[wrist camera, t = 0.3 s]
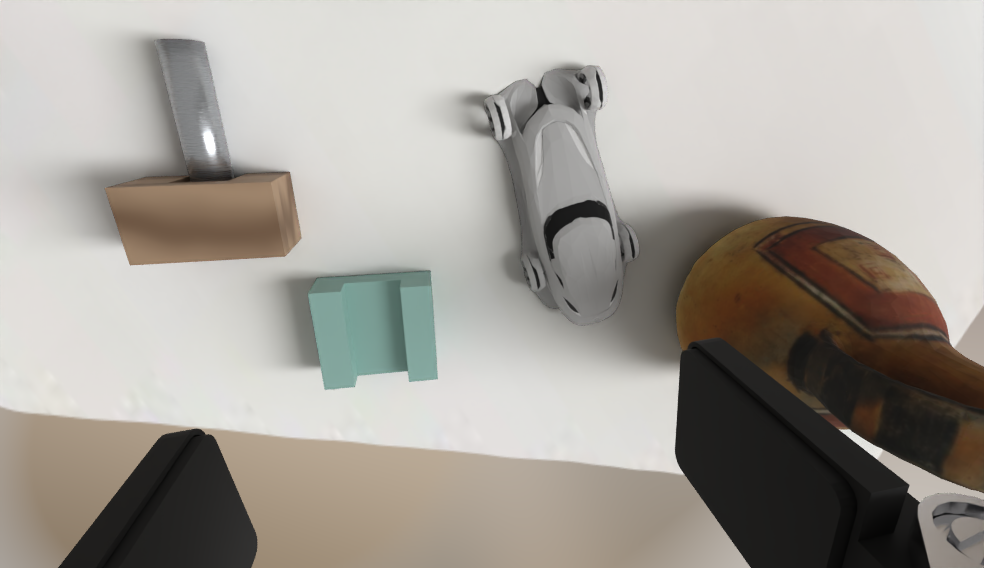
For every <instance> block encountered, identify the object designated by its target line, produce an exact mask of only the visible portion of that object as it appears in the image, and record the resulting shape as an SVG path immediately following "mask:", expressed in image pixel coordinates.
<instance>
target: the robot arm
mask: <svg viewBox="0 0 984 568" xmlns="http://www.w3.org/2000/svg"><path fill="white" fill-rule="evenodd" d="M675 455H676V459H677V462H678V464H679V467H680V468H681V470H682V471H683V473H684V474H685V476H686V477H687V478H688V480H689V481H690V483H691V484H692V486H693V487H694V488H695V490H696V491H697V493H698V494H699V495H700V497H701V498H702V499H703V501H704V502H705V504H706V505H707V507H708V508H709V509H710V511H711V512H712V514H713V515H714V516H715V518H716V519H717V521H718V522H719V523H720V525H721V526H722V528H723V529H724V531H725V532H726V533H727V535H728V536H729V537H730V539H731V540H732V542H733V543H734V545H735V546H736V547H737V549H738V550H739V552H740V553H741V554H742V556H743V557H744V559H745V560H746V562H747V563H748V564H749V566H750V567H751V568H984V500H983V499H980V498H976V497H972V496H967V495H961V494H956V493H938V494H934V495H931V496H928V497H925V498H924V499H923V500H922V501H921V503H920V502H919V501H917V500H916V499H915V498H913V497H912V496H911V495H910V494H909V493H907V491H908V488H909V484H907V483H906V482H905V481H904V480H902V479H901V478H900V477H899V476H897V475H896V474H895V473H893V472H892V471H891V470H889V469H888V468H887V467H886V466H884V465H883V464H882V463H881V462H879V461H878V460H877V459H876V458H874V457H873V456H872V455H870V454H869V453H868V452H867V451H865V450H864V449H863V448H862V447H860V446H859V445H858V444H856V443H855V442H854V441H853V440H851V439H850V438H849V437H847V436H846V435H845V434H844V433H842V432H841V431H840V430H838V429H837V428H836V427H835V426H833V425H832V424H831V423H830V422H828V421H827V420H826V419H824V418H823V417H822V416H821V415H819V414H818V413H817V412H815V411H814V410H813V409H812V408H810V407H809V406H808V405H807V404H805V403H804V402H803V401H801V400H800V399H799V398H798V397H796V396H795V395H794V394H792V393H791V392H790V391H789V390H787V389H786V388H785V387H784V386H782V385H781V384H780V383H778V382H777V381H776V380H775V379H773V378H772V377H771V376H769V375H768V374H767V373H766V372H764V371H763V370H762V369H761V368H759V367H758V366H757V365H755V364H754V363H753V362H752V361H750V360H749V359H748V358H746V357H745V356H744V355H743V354H741V353H740V352H739V351H737V350H736V349H735V348H734V347H732V346H731V345H730V344H729V343H727V342H726V341H725V340H723V339H721V338H711V339H705V340H699V341H693V342H691V343H690V344H689V345H688V348H687V350H684V351H683V352H682V354H681V360H680V376H679V393H678V410H677V426H676V443H675ZM256 552H257V536H256V532H255V530H254V528H253V525H252V523H251V521H250V518H249V516H248V514H247V511H246V509H245V507H244V504H243V502H242V500H241V497H240V495H239V493H238V491H237V488H236V486H235V484H234V481H233V479H232V477H231V474H230V472H229V470H228V467H227V465H226V463H225V460H224V458H223V456H222V453H221V451H220V449H219V446H218V444H217V442H216V440H215V438H214V437H213V436H212V435H209V434H208V435H206V434H205V433H204V432H203V431H202V430H201V429H191V430H186V431H180V432H174V433H169V434H165V435H163V436H161V437H160V438H159V439H158V440H157V442H156V443H155V444H154V445H153V447H152V448H151V449H150V451H149V452H148V453H147V454H146V456H145V457H144V458H143V460H142V461H141V462H140V463H139V465H138V466H137V467H136V469H135V470H134V471H133V472H132V474H131V475H130V476H129V477H128V479H127V480H126V481H125V483H124V484H123V485H122V486H121V488H120V489H119V490H118V492H117V493H116V494H115V496H114V497H113V498H112V499H111V501H110V502H109V503H108V504H107V506H106V507H105V509H104V510H103V511H102V512H101V513H100V515H99V516H98V517H97V519H96V520H95V521H94V522H93V524H92V525H91V526H90V528H89V529H88V530H87V531H86V533H85V534H84V535H83V537H82V538H81V539H80V540H79V542H78V543H77V544H76V546H75V547H74V548H73V550H72V551H71V552H70V553H69V555H68V556H67V557H66V558H65V560H64V561H63V562H62V564H61V565H60V566H59V567H58V568H251V567H252V564H253V561H254V558H255V555H256Z"/></svg>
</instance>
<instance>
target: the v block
mask: <svg viewBox="0 0 984 568" xmlns="http://www.w3.org/2000/svg"><path fill="white" fill-rule="evenodd" d="M308 298H309V304H310V309H311V315H312V321H313V326H314V332H315V337H316V343H317V349H318V354H319V360H320V365H321V371H322V377H323V382H324V388H325V390H327V389H338V388H349V387H355V384H356V380H357V376H358V375H369V374H380V373H392V372H403V371H408V375H409V382H412V381H423V380H434V379H438V376H437V360H436V345H435V331H434V316H433V302H432V287H431V273H430V271H419V272H403V273H388V274H372V275H356V276H340V277H324V278H317V279H316V281H315V282H314V284H313V286H312V288H311V289H310V291H309V293H308Z"/></svg>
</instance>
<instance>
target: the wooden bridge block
mask: <svg viewBox="0 0 984 568" xmlns="http://www.w3.org/2000/svg"><path fill="white" fill-rule="evenodd" d="M105 191H106V194H107V197H108V200H109V203H110V206H111V209H112V212H113V215H114V218H115V221H116V224H117V227H118V230H119V233H120V236H121V240H122V243H123V246H124V249H125V252H126V255H127V258H128V261H129V264H130V265H144V264H161V263H179V262H197V261H214V260H232V259H249V258H267V257H285V256H286V255H287V254H288V253H289V252H290V251H291V249H292V248H293V247H294V246H295V245H296V244H297V243H298V242H299V240H300V239H301V233H300V227H299V221H298V216H297V210H296V204H295V199H294V193H293V187H292V181H291V176H290V172H279V173H250V174H244V175H242V176H239V177H237V178H234V179H232V180H229V181H208V182H191V181H190V177H189V176H162V177H144V178H141V179H137V180H133V181H129V182H126V183H122V184H118V185H114V186H111V187H107V188H105Z"/></svg>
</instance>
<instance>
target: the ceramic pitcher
mask: <svg viewBox="0 0 984 568" xmlns="http://www.w3.org/2000/svg"><path fill="white" fill-rule="evenodd" d="M676 323H677V335H678V338H679V342H680V345H681V348H682V350H683V351H684V350H687V348H688V345H689V344H690V343H691V342H693V341H699V340H705V339H711V338H721V339H723V340H725V341H726V342H727V343H729V344H730V345H731V346H732V347H734V348H735V349H736V350H737V351H739V352H740V353H741V354H743V355H744V356H745V357H746V358H748V359H749V360H750V361H752V362H753V363H754V364H755V365H757V366H758V367H759V368H761V369H762V370H763V371H764V372H766V373H767V374H768V375H769V376H771V377H772V378H773V379H775V380H776V381H777V382H778V383H780V384H781V385H782V386H784V387H785V388H786V389H787V390H789V391H790V392H791V393H792V394H794V395H795V396H796V397H798V398H799V399H800V400H801V401H803V402H804V403H805V404H807V405H808V406H809V407H810V408H812V409H813V410H814V411H815V412H817V413H818V414H819V415H821V416H822V417H823V418H824V419H826V420H827V421H828V422H830V423H831V424H832V425H833V426H835V427H836V428H837V429H850V430H851V431H852V432H854V433H855V434H857V435H859V436H860V437H862V438H863V439H865V440H866V441H868V442H870V443H872V444H873V445H875V446H877V447H880V448H882V449H883V450H885V451H887V452H889V453H891V454H893V455H895V456H896V457H898V458H900V459H902V460H904V461H907V462H909V463H911V464H913V465H915V466H918V467H920V468H922V469H923V470H926V471H928V472H929V473H931V474H933V475H935V476H937V477H939V478H941V479H944V480H947V481H949V482H952V483H955V484H957V485H960V486H963V487H966V488H968V489H971V490H976V491H979V492H982V493H984V367H983V366H981V365H979V364H977V363H975V362H973V361H972V360H969V359H968V358H966V357H965V356H963V355H962V354H960V353H959V352H958V351H956V350H955V349H954V348H953V347H952V346H951V344H950V341H949V335H948V329H947V325H946V322H945V320H944V318H943V315H942V313H941V311H940V309H939V307H938V305H937V303H936V301H935V299H934V298H933V296H932V295H931V294H930V292H929V291H928V290H927V288H926V287H925V286H924V284H923V283H922V282H921V281H920V279H919V278H918V277H917V276H916V275H915V274H914V273H913V272H912V271H911V270H910V269H909V268H908V267H907V266H906V265H905V264H904V263H902V262H901V261H900V260H899V259H898V258H897V257H896V256H895V255H893V254H892V253H890V252H889V251H888V250H886V249H885V248H883V247H882V246H880V245H879V244H877V243H876V242H874V241H873V240H871V239H869V238H867V237H865V236H863V235H861V234H858V233H856V232H854V231H851V230H849V229H846V228H844V227H841V226H838V225H835V224H831V223H827V222H822V221H818V220H813V219H808V218H800V217H787V216H785V217H774V218H766V219H761V220H757V221H754V222H751V223H749V224H746V225H744V226H742V227H740V228H738V229H736V230H734V231H732V232H730V233H729V234H727V235H726V236H724V237H723V238H721V239H720V240H719V241H717V242H716V243H715V244H714V245H712V246H711V247H710V248H709V249H708V250H707V251H706V252H705V253H704V254H703V255H702V256H701V257H700V258H699V259H698V260H697V261H696V262H695V263H694V265H693V267H692V270H691V271H690V273H689V274H688V276H687V278H686V280H685V283H684V285H683V287H682V290H681V292H680V295H679V299H678V301H677V305H676Z"/></svg>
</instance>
